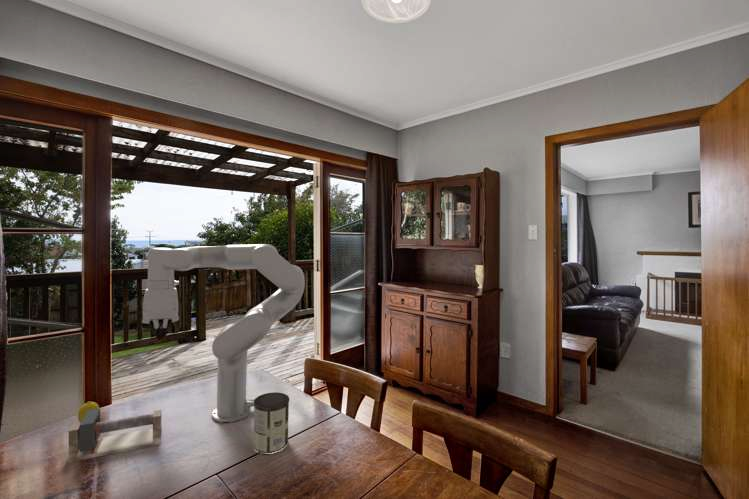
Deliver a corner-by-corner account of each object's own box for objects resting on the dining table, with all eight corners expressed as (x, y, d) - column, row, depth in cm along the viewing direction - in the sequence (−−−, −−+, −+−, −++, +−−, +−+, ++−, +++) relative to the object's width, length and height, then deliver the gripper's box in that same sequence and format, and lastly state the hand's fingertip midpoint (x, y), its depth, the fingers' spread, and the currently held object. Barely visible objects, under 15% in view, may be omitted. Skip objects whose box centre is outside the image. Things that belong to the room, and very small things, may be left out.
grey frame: (100, 433, 110) (100, 408, 110) (93, 449, 102) (93, 423, 102) (88, 435, 109) (87, 410, 108) (79, 452, 101) (79, 425, 100)
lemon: (87, 431, 115) (87, 406, 114) (73, 429, 116) (73, 404, 115) (104, 422, 120) (104, 398, 120) (90, 420, 121) (90, 396, 121)
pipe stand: (161, 429, 117) (162, 406, 117) (159, 444, 109) (159, 419, 109) (75, 444, 107) (75, 419, 107) (65, 462, 99) (65, 435, 99)
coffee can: (269, 432, 118) (269, 389, 117) (295, 441, 113) (296, 396, 113) (245, 449, 108) (246, 402, 108) (272, 459, 104) (273, 410, 103)
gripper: (186, 282, 128) (186, 334, 129) (135, 284, 122) (135, 338, 123) (186, 285, 122) (185, 340, 123) (132, 287, 115) (132, 345, 116)
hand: (160, 339), depth 123 cm, fingers closed
